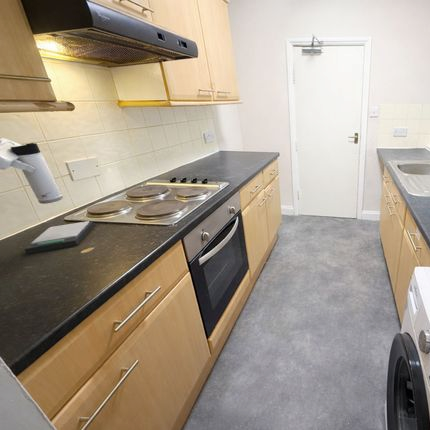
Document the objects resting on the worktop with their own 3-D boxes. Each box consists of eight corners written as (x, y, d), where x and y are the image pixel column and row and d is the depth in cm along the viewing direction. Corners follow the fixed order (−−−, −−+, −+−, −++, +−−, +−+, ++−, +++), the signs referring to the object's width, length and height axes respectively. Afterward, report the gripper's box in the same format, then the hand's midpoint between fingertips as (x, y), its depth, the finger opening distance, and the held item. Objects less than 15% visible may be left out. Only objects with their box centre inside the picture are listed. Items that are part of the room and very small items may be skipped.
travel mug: (50, 204, 91) (20, 145, 82) (34, 203, 92) (2, 145, 83) (68, 197, 96) (42, 141, 88) (53, 196, 97) (25, 141, 89)
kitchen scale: (27, 254, 89) (23, 247, 88) (51, 232, 102) (48, 226, 101) (77, 245, 93) (74, 238, 92) (94, 225, 107) (92, 219, 106)
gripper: (-11, 144, 89) (42, 168, 97) (-47, 156, 73) (20, 183, 81) (0, 129, 89) (52, 154, 97) (-33, 137, 73) (33, 166, 81)
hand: (38, 167), depth 89 cm, fingers closed on travel mug, 6 cm apart
